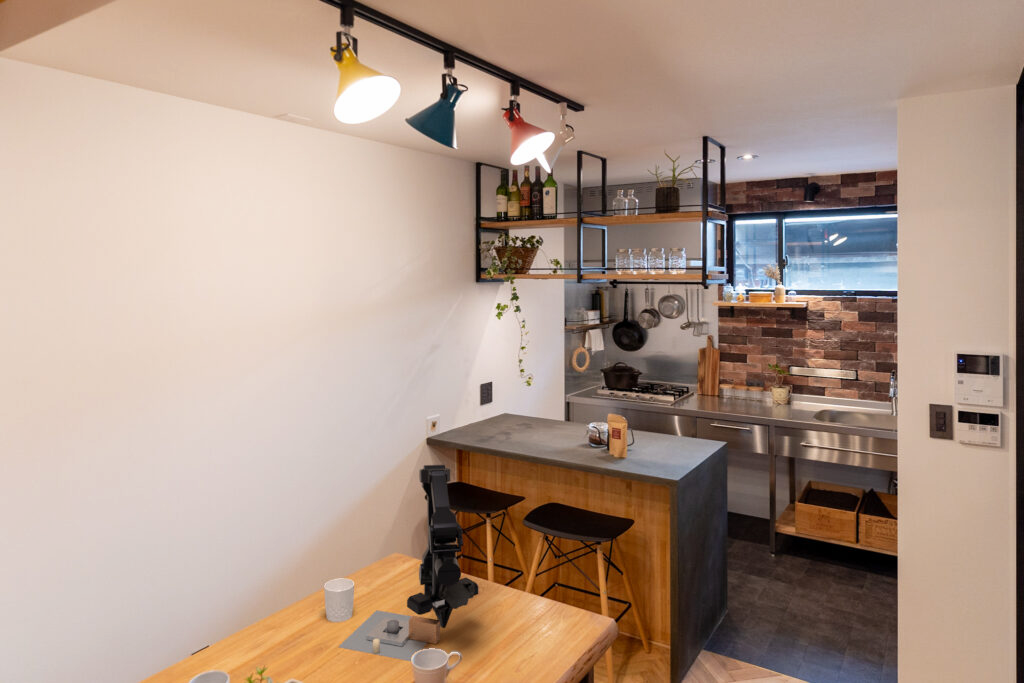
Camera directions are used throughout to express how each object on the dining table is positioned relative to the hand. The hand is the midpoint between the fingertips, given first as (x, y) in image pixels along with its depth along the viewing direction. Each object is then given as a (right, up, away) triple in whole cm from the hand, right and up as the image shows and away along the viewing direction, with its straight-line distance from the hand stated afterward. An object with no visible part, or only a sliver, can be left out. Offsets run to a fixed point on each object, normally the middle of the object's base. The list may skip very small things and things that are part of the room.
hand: (443, 627), depth 175 cm
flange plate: (-9, -2, 0) cm, 10 cm away
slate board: (-13, -3, +1) cm, 13 cm away
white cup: (-29, -2, +10) cm, 31 cm away
